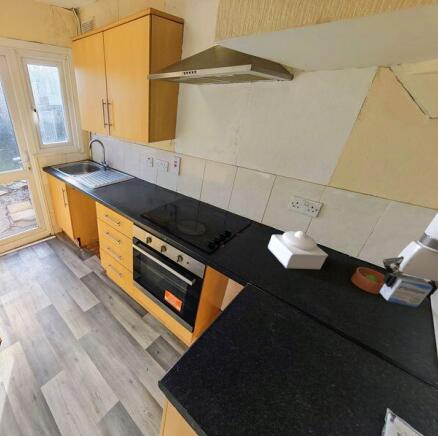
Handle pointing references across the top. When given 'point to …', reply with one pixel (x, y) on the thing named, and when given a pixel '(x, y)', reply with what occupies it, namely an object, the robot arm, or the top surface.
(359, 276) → the bowl
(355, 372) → the top surface
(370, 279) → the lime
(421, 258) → the robot arm
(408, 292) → the medicine box
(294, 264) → the butter dish
